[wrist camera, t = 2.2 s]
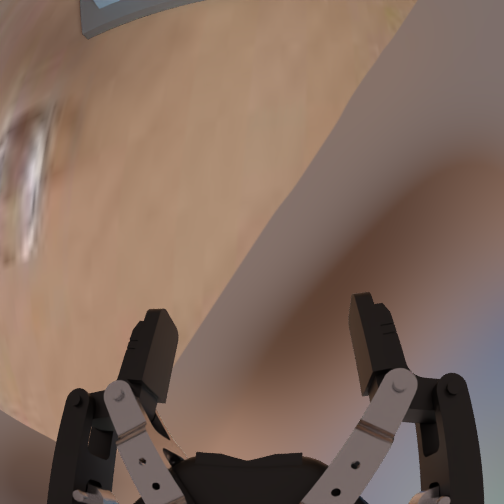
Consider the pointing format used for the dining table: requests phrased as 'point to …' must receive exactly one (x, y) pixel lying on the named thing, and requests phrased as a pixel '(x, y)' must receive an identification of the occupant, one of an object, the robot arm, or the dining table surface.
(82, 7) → the plate
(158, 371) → the robot arm
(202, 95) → the dining table surface
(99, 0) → the light blue block
